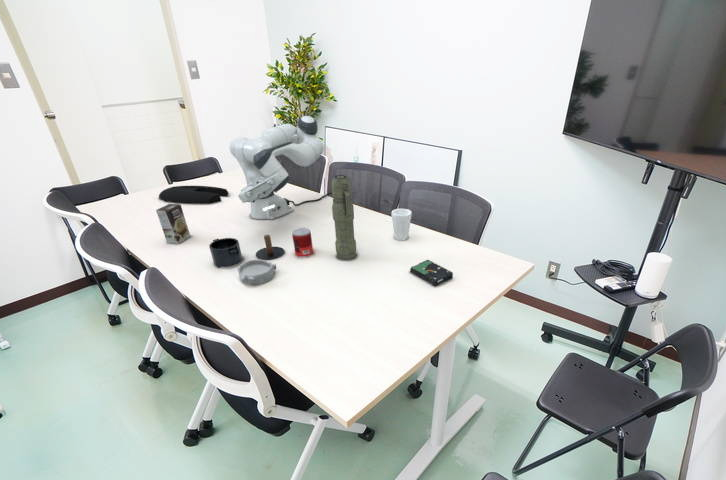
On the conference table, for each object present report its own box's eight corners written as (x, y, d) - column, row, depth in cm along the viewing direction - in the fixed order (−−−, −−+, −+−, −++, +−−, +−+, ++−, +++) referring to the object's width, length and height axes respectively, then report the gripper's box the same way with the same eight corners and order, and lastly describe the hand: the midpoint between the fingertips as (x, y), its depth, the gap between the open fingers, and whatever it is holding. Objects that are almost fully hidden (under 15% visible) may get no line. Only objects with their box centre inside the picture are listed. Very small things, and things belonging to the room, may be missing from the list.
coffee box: (178, 244, 181) (167, 211, 172) (166, 243, 182) (154, 209, 173) (191, 236, 189) (181, 204, 180) (179, 235, 190) (169, 203, 181)
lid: (275, 246, 181) (272, 227, 176) (290, 254, 174) (287, 235, 168) (250, 254, 173) (246, 236, 168) (265, 264, 166) (261, 244, 161)
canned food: (316, 251, 176) (313, 228, 170) (307, 259, 170) (304, 235, 164) (301, 248, 178) (298, 226, 172) (292, 256, 172) (288, 233, 166)
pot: (232, 251, 176) (227, 233, 171) (250, 263, 166) (246, 245, 162) (207, 259, 169) (201, 241, 164) (225, 273, 159) (220, 254, 155)
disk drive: (453, 278, 158) (427, 264, 167) (453, 272, 156) (427, 258, 165) (435, 287, 152) (409, 272, 161) (435, 281, 150) (409, 266, 159)
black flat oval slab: (175, 188, 248) (172, 181, 245) (235, 192, 244) (233, 184, 241) (149, 202, 228) (146, 193, 225) (213, 206, 223) (211, 197, 220)
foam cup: (413, 235, 191) (414, 210, 184) (406, 243, 184) (406, 217, 177) (396, 232, 195) (396, 207, 187) (388, 239, 188) (388, 213, 180)
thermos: (345, 263, 167) (339, 182, 147) (331, 254, 174) (322, 175, 155) (362, 257, 172) (358, 178, 152) (347, 248, 179) (341, 171, 160)
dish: (255, 290, 149) (252, 279, 146) (231, 280, 155) (228, 269, 152) (283, 274, 159) (281, 263, 156) (260, 265, 165) (258, 254, 162)
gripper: (285, 182, 181) (284, 183, 169) (246, 204, 180) (243, 206, 167) (277, 169, 179) (276, 169, 166) (237, 191, 177) (234, 193, 165)
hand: (259, 188), depth 167 cm, fingers open, 8 cm apart
